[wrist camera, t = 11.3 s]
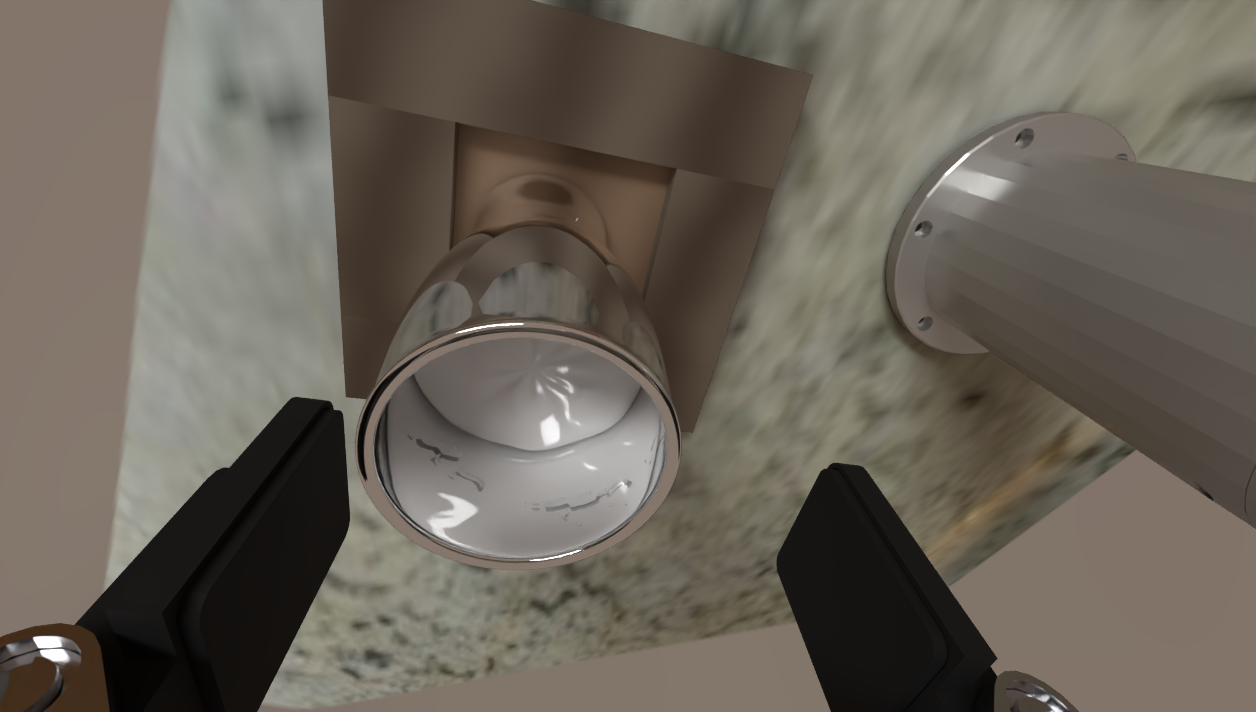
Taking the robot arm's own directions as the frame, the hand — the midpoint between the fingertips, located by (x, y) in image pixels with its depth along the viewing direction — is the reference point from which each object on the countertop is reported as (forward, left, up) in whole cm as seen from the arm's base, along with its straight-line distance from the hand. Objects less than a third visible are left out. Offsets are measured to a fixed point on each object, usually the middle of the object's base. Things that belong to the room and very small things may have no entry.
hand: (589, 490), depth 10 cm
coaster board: (+1, 0, -17) cm, 17 cm away
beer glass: (+1, 0, -16) cm, 16 cm away
